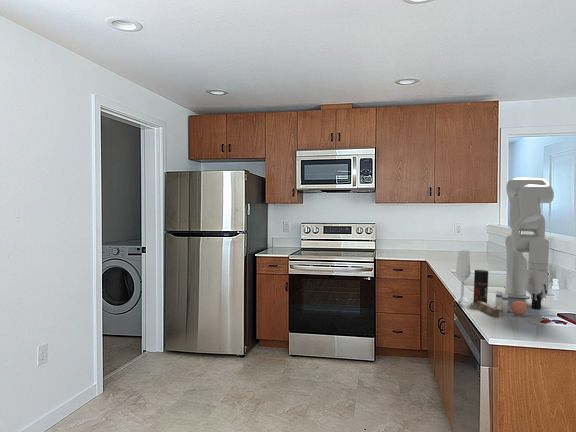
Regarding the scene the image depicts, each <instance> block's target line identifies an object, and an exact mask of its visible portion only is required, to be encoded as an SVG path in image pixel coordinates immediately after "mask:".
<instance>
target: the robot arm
mask: <svg viewBox="0 0 576 432" xmlns="http://www.w3.org/2000/svg"><path fill="white" fill-rule="evenodd" d="M553 189H554V188H553V187H552V185H551V184H550V183H549V181H548V180H546V179H545V178H540V177H538V178H537V177H515V178H511V179H509V180H508V181H507V183H506V194H507V197H508V200H509V219H508V220H509V223H508V224H509V227H510V230H511V234H508V235H507V236H506V237H505V251H506V252H505V253H506V266H505V267H506V268H505V285H504V286H503V288H504V290H505V291H502V293H507V294H508V298H514V299H516V298H517V299H528V298H531V307H530V309H534V310H542V301H543V299H545V298H546V297H547V296H546V295H547V294H548V293H549V275H548V274H549V273H548V271H549V255H550V252H549V251H550V241H549V239H547V238H545V236H546V220H545V217H544V215H543V214H542V209H541V204H551V203H553V200H554V197H555V194H554V190H553ZM520 232H527V233H528V234H527V233H520ZM529 232H531V233H532V234H530V233H529ZM523 254H528V258H527V259H528V260H527V259H526V257H525V256H524V255H523ZM527 292H528V293H527Z"/></svg>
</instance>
